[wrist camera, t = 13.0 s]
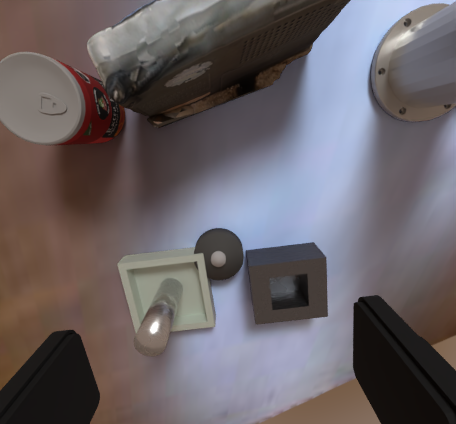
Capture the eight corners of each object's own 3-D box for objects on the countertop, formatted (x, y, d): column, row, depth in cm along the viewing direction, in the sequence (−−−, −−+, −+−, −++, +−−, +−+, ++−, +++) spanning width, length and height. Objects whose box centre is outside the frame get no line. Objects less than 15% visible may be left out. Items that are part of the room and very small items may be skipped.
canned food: (131, 141, 34) (89, 143, 24) (71, 144, 34) (2, 148, 24) (122, 77, 32) (71, 47, 22) (57, 81, 32) (-25, 53, 22)
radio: (316, -6, 30) (398, -137, 16) (329, 74, 32) (412, 23, 18) (128, 58, 32) (47, -7, 17) (153, 130, 34) (100, 124, 20)
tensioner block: (313, 242, 38) (326, 257, 33) (315, 295, 41) (327, 316, 36) (246, 250, 39) (249, 266, 34) (252, 302, 41) (255, 324, 36)
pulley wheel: (239, 225, 37) (241, 233, 34) (244, 268, 39) (246, 280, 36) (191, 231, 38) (188, 239, 35) (199, 274, 40) (197, 285, 36)
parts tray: (204, 246, 38) (203, 253, 36) (215, 314, 42) (215, 326, 39) (124, 255, 39) (117, 264, 36) (141, 323, 42) (136, 335, 39)
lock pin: (180, 276, 39) (162, 328, 28) (184, 297, 40) (168, 354, 29) (157, 279, 39) (130, 331, 28) (161, 300, 40) (137, 357, 29)
